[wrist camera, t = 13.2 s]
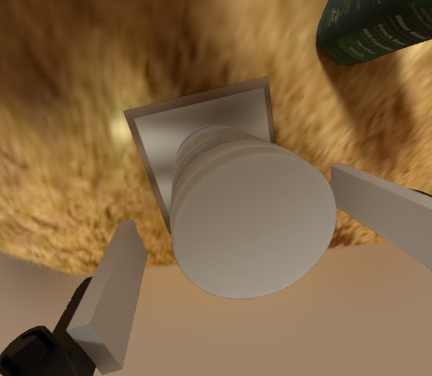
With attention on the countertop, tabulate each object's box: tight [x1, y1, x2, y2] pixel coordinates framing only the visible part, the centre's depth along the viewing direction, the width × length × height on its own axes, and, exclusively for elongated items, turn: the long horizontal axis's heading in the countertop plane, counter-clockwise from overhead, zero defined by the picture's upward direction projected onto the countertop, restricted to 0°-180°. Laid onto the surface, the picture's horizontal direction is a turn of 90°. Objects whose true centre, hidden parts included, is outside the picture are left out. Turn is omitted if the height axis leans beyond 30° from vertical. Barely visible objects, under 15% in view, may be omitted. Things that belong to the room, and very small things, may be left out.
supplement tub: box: [170, 124, 337, 299], centre depth 18 cm, size 10×10×15 cm
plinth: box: [123, 76, 275, 234], centre depth 27 cm, size 16×16×4 cm
